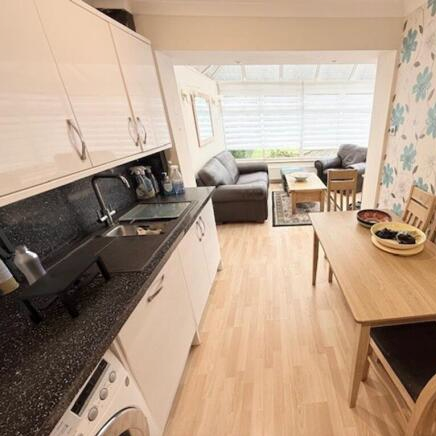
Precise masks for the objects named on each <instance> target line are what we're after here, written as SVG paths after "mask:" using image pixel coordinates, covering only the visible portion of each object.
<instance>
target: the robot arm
mask: <svg viewBox="0 0 436 436" xmlns="http://www.w3.org/2000/svg"><path fill="white" fill-rule="evenodd" d="M14 248H15V247H14V246H13V244H11V241H10V240H9V239H8V237H7V235H6V234H5V233H4V231H3V229H2V228H1V227H0V259H1V260H2V262H3V263H4V264H5V266H6V267H7V269H8V270H9V271H10V273H11V274H12V276H13V278H14V279H15V281H16V282H17V283H20V282H21V281H23V278H21V276H20V275H19V273H18V272H17V270H16V267H17V266H16V265H15V264H14V261H12V260H14V258H15V256H14V255H15V254H14V253H15V249H14ZM2 294H4V293H3V292H2V290H1V289H0V297H1V296H3V295H2ZM4 295H5V294H4Z"/></svg>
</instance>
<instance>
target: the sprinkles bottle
mask: <svg viewBox="0 0 436 436" xmlns="http://www.w3.org/2000/svg"><path fill="white" fill-rule="evenodd" d="M19 286H20V283H19V282H16V281H15V279H14V278H13V276H12V274H11V273H10V271H9V270H8V269H7V267H6V266H5V264H4V263H3V262H2V260H1V259H0V289H1V290H2V292H3V293H4V294H2V295H1V296H3V295H6V294H9V293H11V292H13V291H15V290H17V288H19Z"/></svg>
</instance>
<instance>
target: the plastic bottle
mask: <svg viewBox="0 0 436 436" xmlns="http://www.w3.org/2000/svg"><path fill="white" fill-rule="evenodd" d="M13 248H14V249H15V253H14V254H13V255H15V256H14V258H13V264H14V265H15V267H17V268H18V269H19V270H20V271H21V272H22V274H23V275H24V276H25V278H26V280H27V282H28V285H29V286H30V285H32V284H33V283H34V282H35V281H37V280H38V279H39V278H40V277H42V276H43V275H44V274H46V273H47V271H46V269H44V267H43V265H42V263H41V261H40V258H39V255H38V254H37V253H35V252H33V251H31V250H29V249H28V247H27V246H26V245H24V244H23V245H18V246H16V247H13Z"/></svg>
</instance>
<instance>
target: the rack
mask: <svg viewBox="0 0 436 436" xmlns="http://www.w3.org/2000/svg"><path fill="white" fill-rule="evenodd" d="M95 263H96V266H97V267H98V269H99V271H95V272H92V273H91V274H90V275H89V276H88V277H87V278H85V280H84V281H83V282H82V281H81V279H80V278H81V277H82V276H83V275H85V273H86V272H87V271H88V270H89V269H90V268H92V267H93V266H94V264H95ZM100 273H101V275H102V277H103V279H104V280H105V281H110V280H111V278H112V276H111V274H110V272H109V271H108V268H107V266H106V264H105V263H104V260H103V259H102V256H101V254H96V255H95V254H94V255H88V256H79V257H72V258H71V257H69V258H63V259H62V260H60V261H59V262H58V263H57V264H56V265H54V266H53V267H52V268H50V269H49V270H48V271H46V274H44V275H43V276H42V277H40V278H39V279H38V280H37V281H35V282H34V283H33V284H32V285H29V286H28V287H26V288H25V289H24V290H22V291H21V292H20V293H19V294H18V295H16V296H15V297H14V300H15V301H16V302H17V303H18V305H19V307H20V308H22V310H23V311H24V313H25V314H26V316H28V317H29V319H30V321H31V322H32V324H34V325H36V324H37V325H38V324H40V323H41V322H42V321H43V318H42V317H41V315H40V314H39V313H38V311H39V312H42V311H47V310H48V309H49V308H50V307H51V306H52V305H53V304H55V302H56V301H58V300H60V302H61V304H60V305H59V308H65V309H66V311H67V312H68V314H69V315H70V317H71V318H72V319H77V318H79V316H80V314H81V313H80V311H78V308H77V307H76V306H75V304H74V301H75V300H76V299H77V298H78V297H79V296H80V295H81V294H82V293H83V292H84V291H85V290H86V288H87V287H88V286H89V285H90V284H91V283H92V282H93V281H94V280H95V279H96V278H97V276H99V275H100ZM81 282H82V283H81ZM80 283H81V284H80ZM79 284H80V285H79ZM73 285H74V286H75V285H79V286H78V287H77V288H76V289H75V290H74V291H73V292H72V293H71V294H70V295H69V294H68V293H67V291H68V290H69V289H70V288H71V287H72V286H73ZM46 297H50V298H48V299H47V300H46V301H45V302H44V303H42V305H41V306H40V307H39V308H38V309H37V310H38V311H37V310H36V308H35V307H34V306H33V304H32V303H31V302H30V300H32V299H39V298H46Z"/></svg>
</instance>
